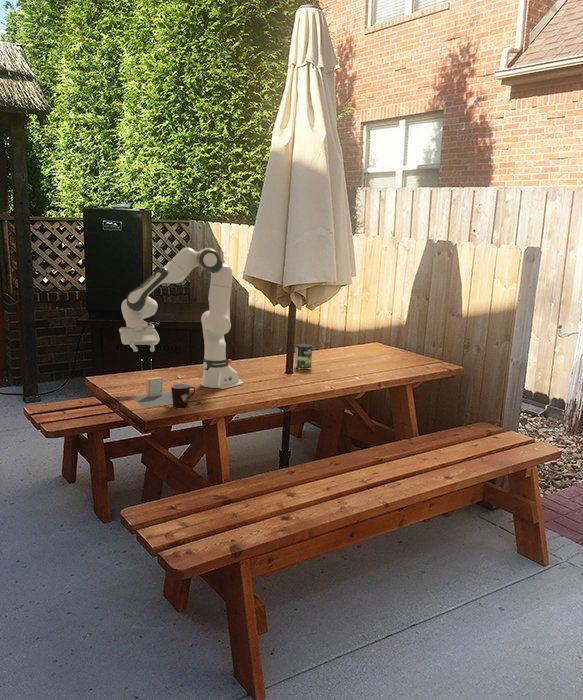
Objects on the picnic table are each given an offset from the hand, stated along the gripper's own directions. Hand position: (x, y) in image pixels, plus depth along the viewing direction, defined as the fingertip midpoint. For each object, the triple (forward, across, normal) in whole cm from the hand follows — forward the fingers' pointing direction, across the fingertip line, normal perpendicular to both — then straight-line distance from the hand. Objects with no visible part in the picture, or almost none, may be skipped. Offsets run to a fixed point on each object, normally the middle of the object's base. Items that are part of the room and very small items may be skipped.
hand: (144, 350), depth 315 cm
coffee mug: (+37, +3, -10) cm, 38 cm away
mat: (+26, +1, +3) cm, 26 cm away
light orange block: (+22, +1, +6) cm, 23 cm away
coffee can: (+13, +105, -2) cm, 106 cm away
